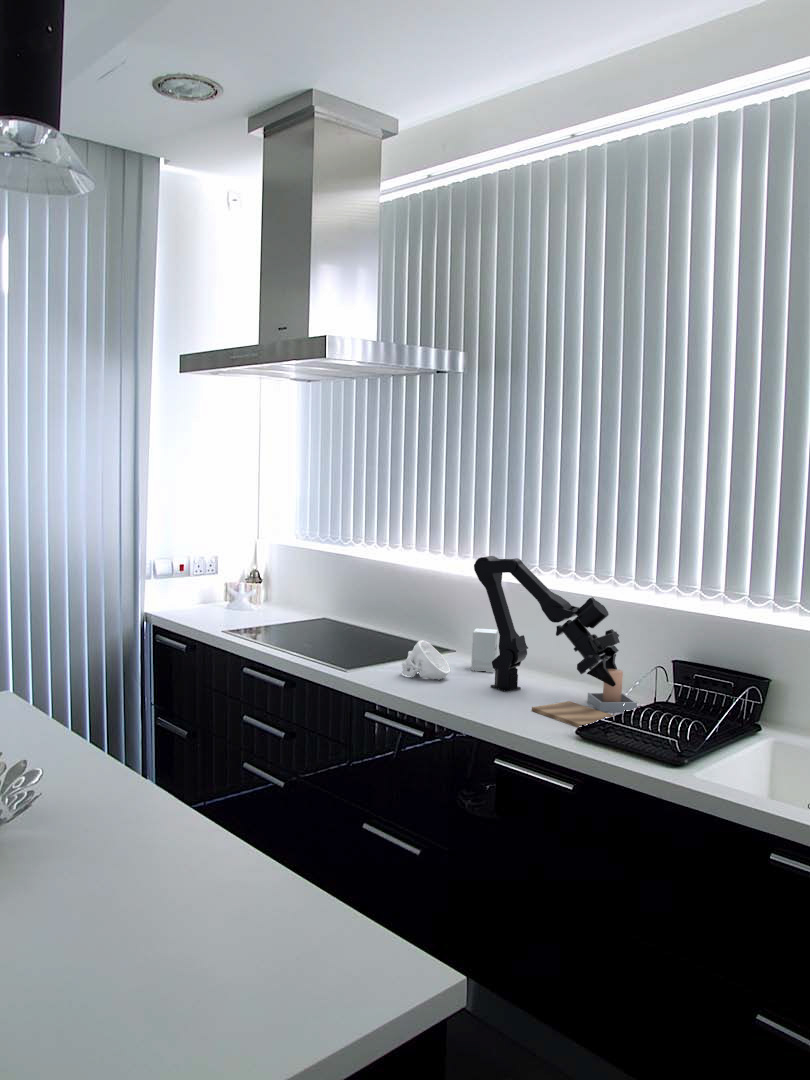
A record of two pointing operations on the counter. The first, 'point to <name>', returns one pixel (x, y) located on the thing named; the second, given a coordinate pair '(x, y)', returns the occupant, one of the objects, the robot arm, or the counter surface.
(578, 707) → the walnut board
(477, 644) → the supplement box
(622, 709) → the grey box
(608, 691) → the pink tall rounded piece
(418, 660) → the skull bowl
